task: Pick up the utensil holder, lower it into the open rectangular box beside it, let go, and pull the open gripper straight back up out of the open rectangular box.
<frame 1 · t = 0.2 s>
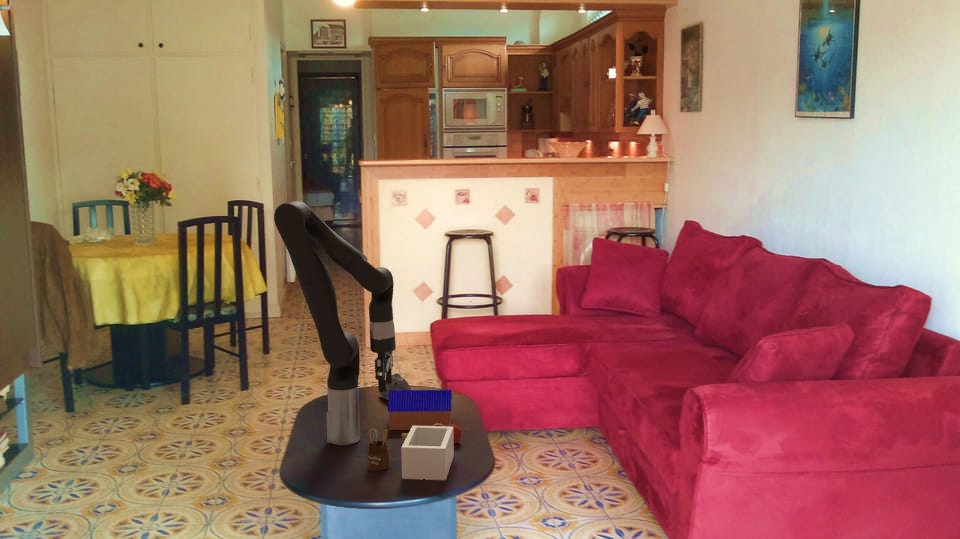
hand: (385, 387, 251), 17 cm above the table, tool pointing down, fingers open, 8 cm apart
house: (420, 425, 270), on the table
utensil holder: (378, 468, 235), on the table
open rectangular box: (428, 467, 235), on the table
mineral rock: (396, 400, 295), on the table
kendama: (431, 444, 253), on the table
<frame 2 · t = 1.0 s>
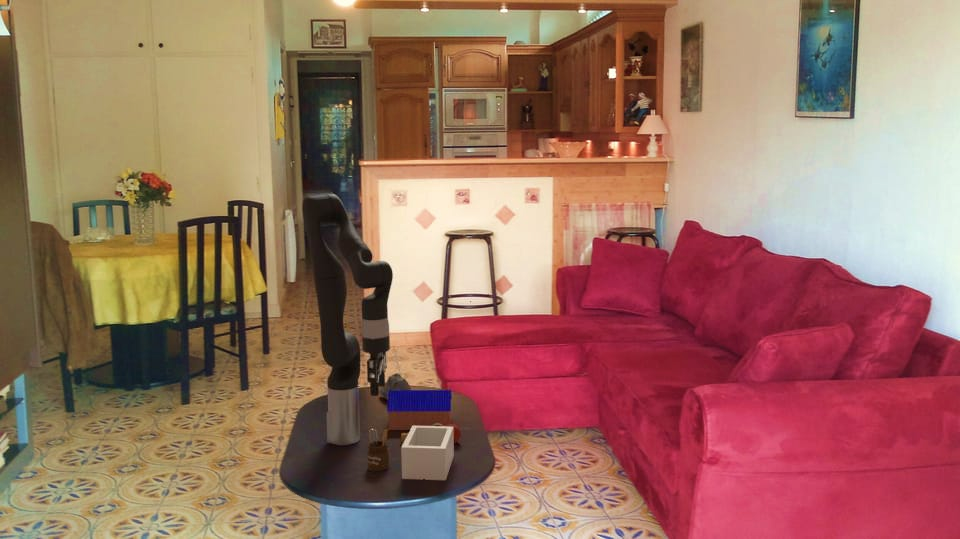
hand: (378, 390, 232), 22 cm above the table, tool pointing down, fingers open, 8 cm apart
nothing on the table moved.
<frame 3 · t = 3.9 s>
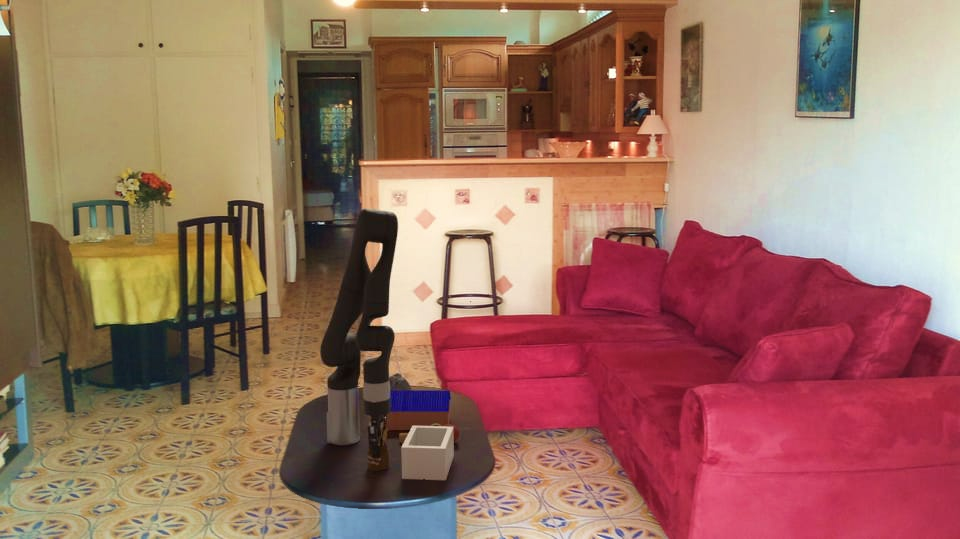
hand: (378, 453, 234), 4 cm above the table, tool pointing down, fingers closed on utensil holder, 6 cm apart
utensil holder: (378, 468, 235), on the table, touching gripper
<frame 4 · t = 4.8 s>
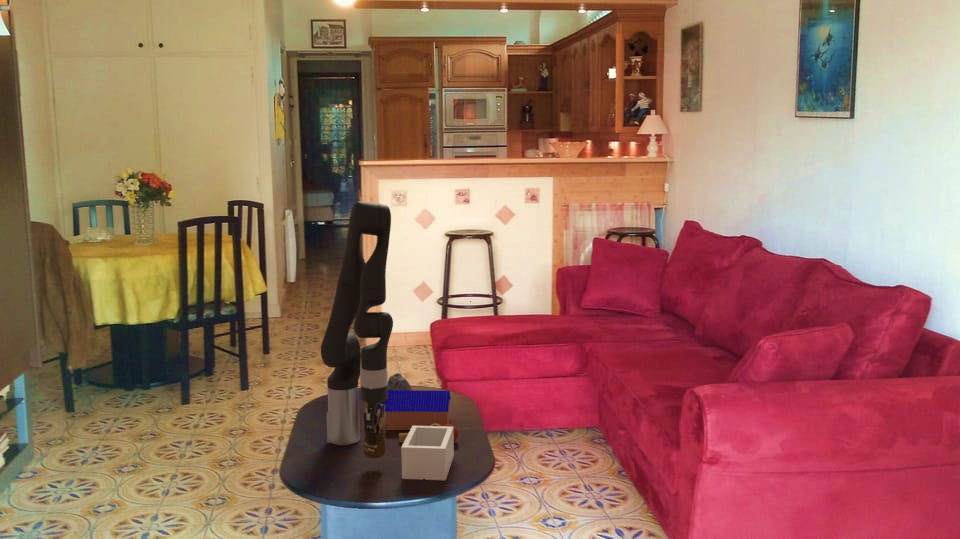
hand: (374, 440, 233), 8 cm above the table, tool pointing down, fingers closed on utensil holder, 5 cm apart
utensil holder: (374, 455, 234), point 4 cm above the table, touching gripper
everything else where it was.
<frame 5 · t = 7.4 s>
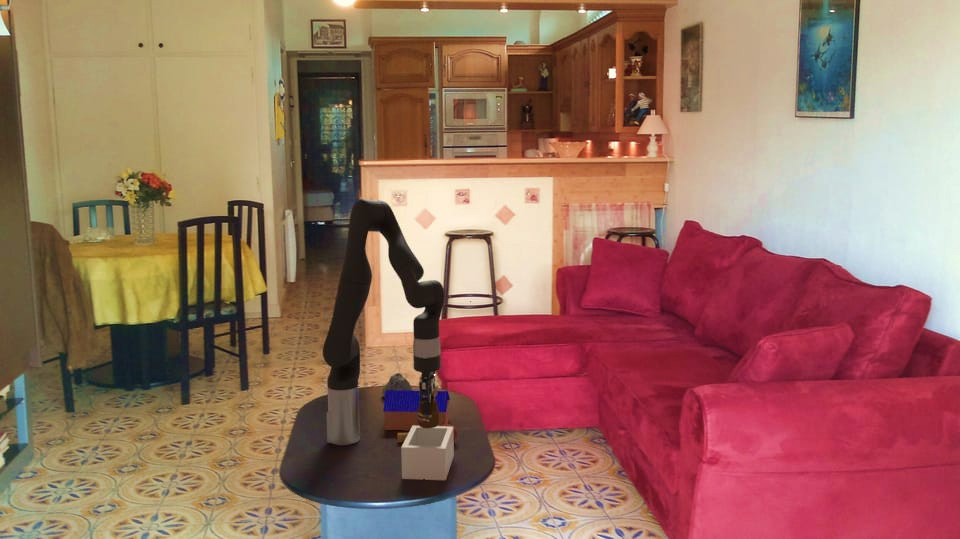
hand: (428, 411, 233), 16 cm above the table, tool pointing down, fingers closed on utensil holder, 5 cm apart
utensil holder: (429, 425, 233), point 12 cm above the table, touching gripper
when the fingers open (7 cm above the table, at t = 10.0 s): utensil holder drops 1 cm, resting on open rectangular box.
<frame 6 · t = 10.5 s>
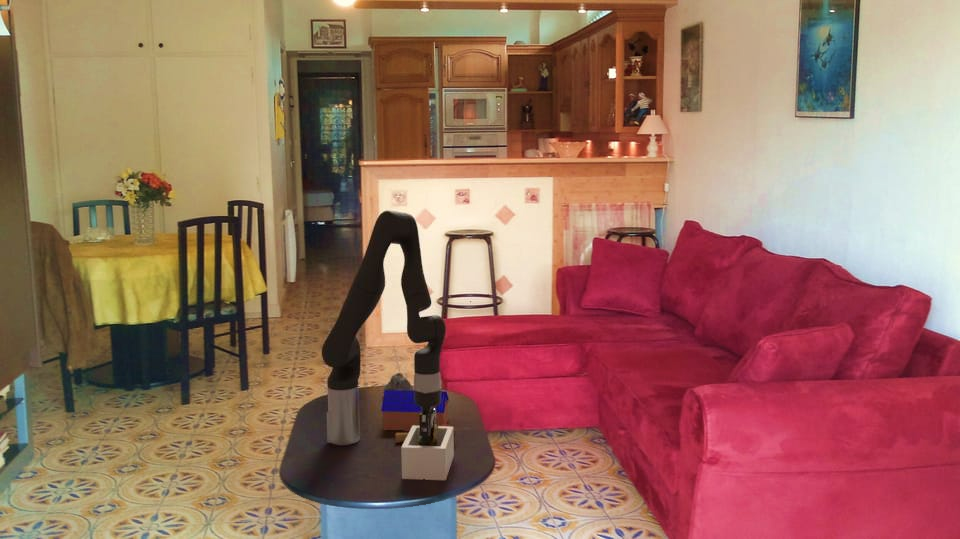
hand: (428, 442, 234), 7 cm above the table, tool pointing down, fingers open, 8 cm apart
utensil holder: (428, 464, 235), point 1 cm above the table, touching open rectangular box
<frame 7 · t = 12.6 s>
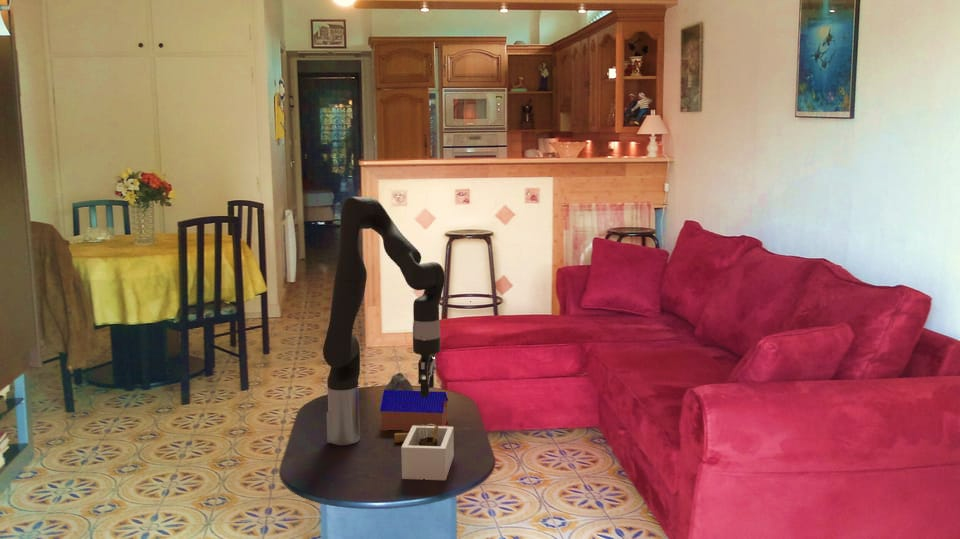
hand: (427, 392, 231), 22 cm above the table, tool pointing down, fingers open, 8 cm apart
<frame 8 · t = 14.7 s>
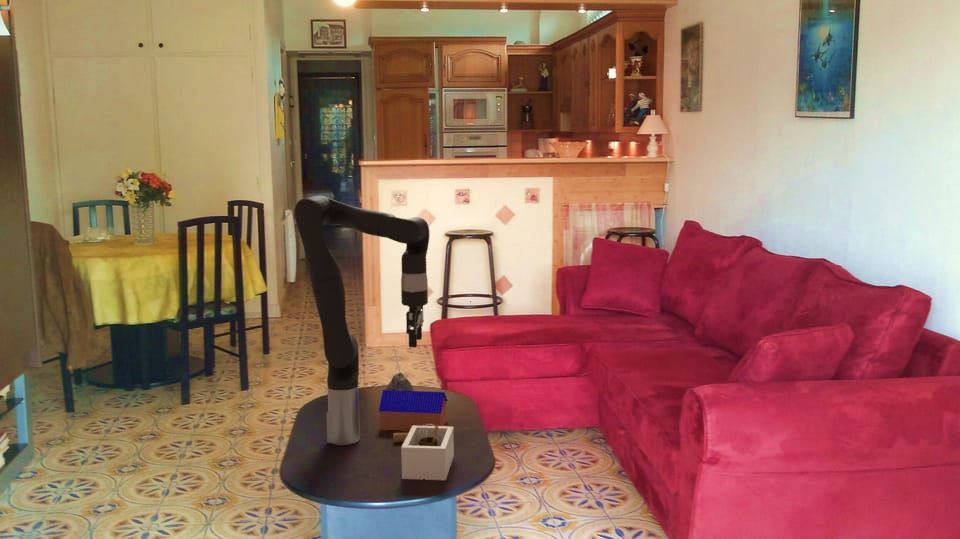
hand: (415, 343, 240), 33 cm above the table, tool pointing down, fingers open, 8 cm apart
at the end: utensil holder inside the target area on the open rectangular box (0.0 cm from its centre), point 0.8 cm above the open rectangular box's base; utensil holder tilted 0°; the gripper is holding nothing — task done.
